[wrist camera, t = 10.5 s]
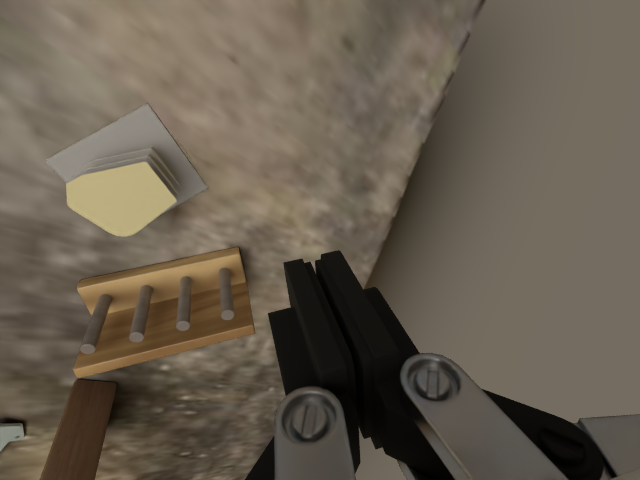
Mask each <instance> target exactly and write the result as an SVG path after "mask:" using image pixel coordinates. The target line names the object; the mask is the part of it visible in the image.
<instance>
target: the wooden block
mask: <svg viewBox="0 0 640 480" xmlns="http://www.w3.org/2000/svg"><path fill="white" fill-rule="evenodd" d="M116 387H117V386H116V383H114V382H103V381H91V380H76V382H75V383H74V385H73V388H72V390H71V393H70V396H69V399H68V402H67V404H66V407H65V410H64V413H63V416H62V418H61V421H60V424H59V427H58V430H57V433H56V435H55V438H54V441H53V444H52V447H51V449H50V452H49V455H48V458H47V461H46V464H45V466H44V469H43V472H42V475H41V478H40V480H95V476H96V471H97V467H98V463H99V459H100V455H101V450H102V446H103V442H104V438H105V433H106V429H107V425H108V421H109V417H110V412H111V408H112V404H113V400H114V395H115V391H116Z"/></svg>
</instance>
